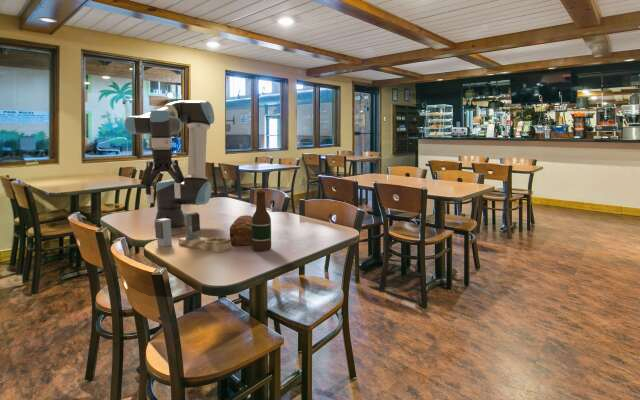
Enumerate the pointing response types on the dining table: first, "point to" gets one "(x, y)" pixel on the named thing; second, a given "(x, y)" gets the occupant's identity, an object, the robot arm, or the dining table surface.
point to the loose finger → (163, 231)
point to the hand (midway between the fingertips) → (164, 200)
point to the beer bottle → (261, 225)
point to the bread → (241, 231)
